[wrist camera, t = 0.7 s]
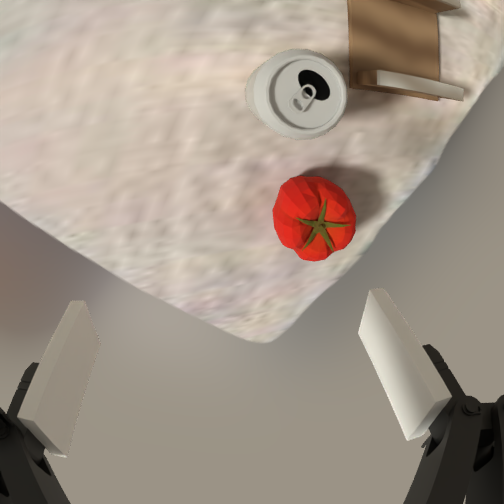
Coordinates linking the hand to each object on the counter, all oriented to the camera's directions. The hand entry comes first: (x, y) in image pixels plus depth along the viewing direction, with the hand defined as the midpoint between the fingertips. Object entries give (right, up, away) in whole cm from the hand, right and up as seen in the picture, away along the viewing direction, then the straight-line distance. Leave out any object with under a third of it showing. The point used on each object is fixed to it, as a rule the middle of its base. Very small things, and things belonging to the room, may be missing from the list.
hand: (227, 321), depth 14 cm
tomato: (+7, +9, +24) cm, 26 cm away
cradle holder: (+18, +28, +14) cm, 36 cm away
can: (+4, +20, +17) cm, 27 cm away
